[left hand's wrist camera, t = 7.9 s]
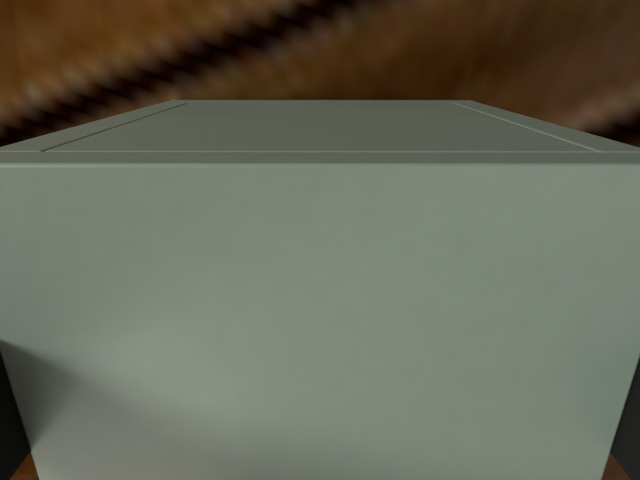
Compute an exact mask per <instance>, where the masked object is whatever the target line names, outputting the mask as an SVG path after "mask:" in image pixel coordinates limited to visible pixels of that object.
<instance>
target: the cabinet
mask: <svg viewBox="0 0 640 480" xmlns="http://www.w3.org/2000/svg"><path fill="white" fill-rule="evenodd" d="M0 354H1V357H2V360H3V364H4V367H5V370H6V373H7V376H8V380H9V383H10V386H11V389H12V392H13V396H14V399H15V402H16V405H17V408H18V412H19V415H20V418H21V421H22V424H23V428H24V431H25V434H26V437H27V441H28V444H29V447H30V450H31V453H32V457H33V460H34V463H35V466H36V469H37V473H38V476H39V479H40V480H602V477H603V474H604V471H605V468H606V464H607V461H608V458H609V455H610V452H611V448H612V445H613V442H614V439H615V436H616V433H617V429H618V426H619V423H620V420H621V417H622V413H623V410H624V407H625V404H626V401H627V398H628V394H629V391H630V388H631V385H632V382H633V378H634V375H635V372H636V369H637V366H638V363H639V359H640V148H639V147H635V146H631V145H628V144H624V143H621V142H617V141H614V140H610V139H606V138H603V137H599V136H596V135H592V134H589V133H585V132H581V131H578V130H574V129H571V128H567V127H563V126H560V125H556V124H553V123H549V122H546V121H542V120H538V119H535V118H531V117H528V116H524V115H521V114H517V113H513V112H510V111H506V110H503V109H499V108H496V107H492V106H488V105H485V104H481V103H478V102H475V101H471V100H170V101H167V102H163V103H159V104H156V105H152V106H149V107H145V108H141V109H138V110H134V111H130V112H127V113H123V114H120V115H116V116H112V117H109V118H105V119H101V120H98V121H94V122H90V123H87V124H83V125H80V126H76V127H72V128H69V129H65V130H61V131H58V132H54V133H51V134H47V135H43V136H40V137H36V138H32V139H29V140H25V141H22V142H18V143H14V144H11V145H7V146H3V147H0Z"/></svg>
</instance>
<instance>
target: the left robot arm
mask: <svg viewBox="0 0 640 480" xmlns="http://www.w3.org/2000/svg"><path fill="white" fill-rule="evenodd" d="M30 451H31V450H30V447H29V444H28V441H27V437H26V434H25V431H24V428H23V424H22V421H21V418H20V415H19V412H18V408H17V405H16V402H15V399H14V396H13V392H12V389H11V386H10V383H9V380H8V376H7V373H6V370H5V367H4V364H3V360H2V357H1V354H0V480H9V479H10V478H11V477H12V475H13V474H14V473H15V471H16V470H17V469H18V467H19V466H20V465H21V463H22V462H23V461H24V459H25V458H26V457H27V455H28V454H29V453H30ZM611 453H612V455H613V456H614V457H615V459H616V460H617V461H618V463H619V464H620V465H621V467H622V468H623V469H624V471H625V472H626V473H627V475H628V476H629V477H630V479H631V480H640V359H639V363H638V366H637V369H636V372H635V375H634V378H633V382H632V385H631V388H630V391H629V394H628V398H627V401H626V404H625V407H624V410H623V413H622V417H621V420H620V423H619V426H618V429H617V433H616V436H615V439H614V442H613V445H612V448H611Z"/></svg>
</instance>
